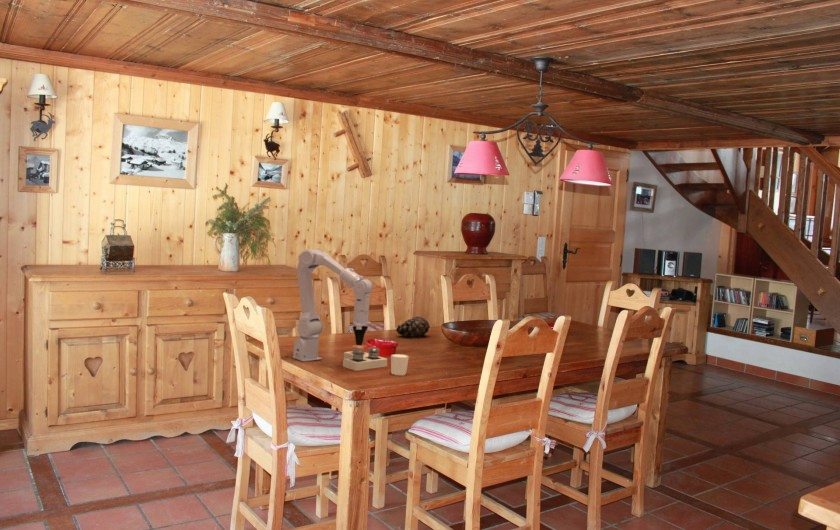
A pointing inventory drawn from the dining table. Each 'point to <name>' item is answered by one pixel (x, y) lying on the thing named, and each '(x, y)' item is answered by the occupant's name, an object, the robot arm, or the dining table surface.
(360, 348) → the terracotta plug
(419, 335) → the pine cone
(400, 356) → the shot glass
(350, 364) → the socket block
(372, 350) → the metal plug
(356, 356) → the metal plug
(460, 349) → the dining table surface
